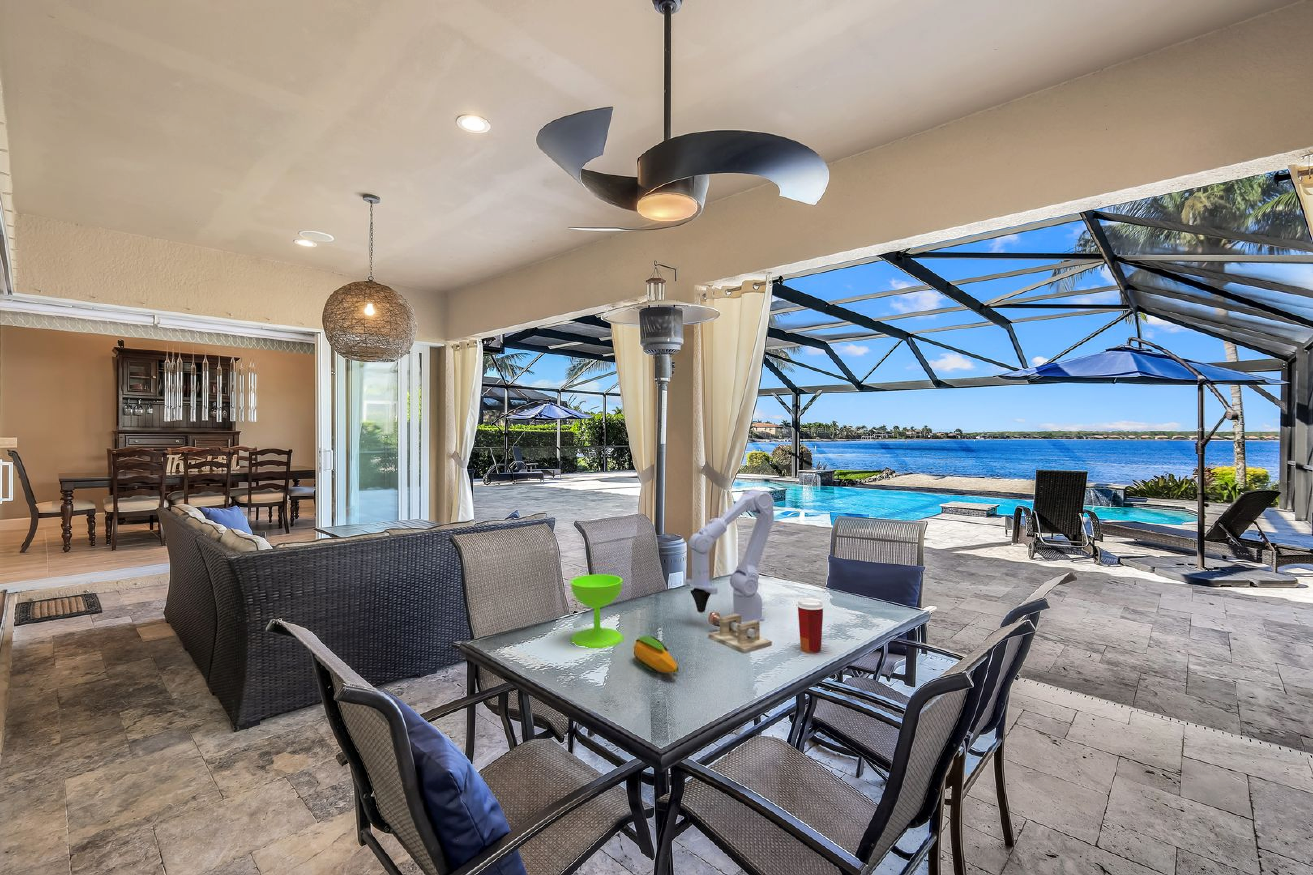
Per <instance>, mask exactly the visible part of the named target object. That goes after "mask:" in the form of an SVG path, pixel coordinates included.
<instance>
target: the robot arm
mask: <svg viewBox="0 0 1313 875" xmlns="http://www.w3.org/2000/svg"><path fill="white" fill-rule="evenodd" d="M774 506H775V500H774V498H773V497H772V494H771V493H770V492H768V491H765V490H764V491H763V490H757V489H754V488H753V489H751V488H750V489H749V490H747V491H746V492H745V493H743V494H742V495H741V496H740V497H739V499H738V500H737V501H736V502H735V503H734V504H733V505H732V506H731V507H730V508H729V509H728V510H727V511H726V512H725V513H724V514H723V515H722V516H721V517H719V518H718V517H714V518H711V519H709V520H708V522H709V523H707V524H706V525H704V527H703V528H700V529H699V530H698V532H696V533H693V534H692V535H691V536H690V538H689V541H688V547H690V549H691V579H690V578H689V579H684V582H685V583H684V585H685V587H690V588H692V589H691V590H690V594H691V596H692V599H693V600H694V602H695V603H694V604H695V606H696V611H697V613H700V614H701V613H705V612H706V608H707V604H708V601H709V598H710V597H711V595H712V596H713V595H717V594H718V590H719V589H718V587H716V586H714V585H713V584H711V583H710V551H711V549H712V547H713V544H714V543H715V542H716V541H718V539H719V538H721V536H723V535H724V534H725V533H726V532H727V529H728V525H730V524H731V523H732V522H734V521H735V520H736V519H737V518H739V517H740V516H741V515H742V514H744V513H745V512H753V514H754V517H755V518H756V521H755V524H754V527H753V530H752V533H751V535H750V538H749V541H748V543H747V546H746V550H745V553H744V555H743V558H742V562H741V563H740V564H738V565H736V568H735V570H734V572H733V573H732V574H731V576H730V578H729V584H730V586H731V587H732V589H733V591H732V594H733V595H732V598H733V599H732V600H733V602H732V605H733V608H732V609H733V612H732V613H733V614H739V615H741V624H742V623H746V622H750V621H754V620H756V621H758V622H760V621H764V620H765V618H764V617H763V600H762V596H761V594H759V592H758V590H759V578H760V574H759V571H758V567H759V565H760V561H761V558H762V555H763V553H764V550H765V547H766V544H767V541H768V538H769V535H770V532H771V529H772V526H773V524H774V521H775V514H774ZM733 614H732V615H733Z"/></svg>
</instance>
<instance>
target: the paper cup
mask: <svg viewBox="0 0 1313 875" xmlns="http://www.w3.org/2000/svg"><path fill="white" fill-rule="evenodd" d="M796 607H797V611H798V614H797V615H798V629H799V642H800V643H799V644H800V650H801V652H803V653H807V654H818V653H821V649H822V638H823V636H822V635H823V621H824V608H825V606H824V602H823V601H822V600H820V599H817V598H813V597H812V598H811V597H805V598H800V599H798V601H797V603H796Z"/></svg>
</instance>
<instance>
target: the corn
mask: <svg viewBox="0 0 1313 875" xmlns="http://www.w3.org/2000/svg"><path fill="white" fill-rule="evenodd" d="M633 655H634V657H635V658H636V660H637V661H638V662H640V664H641V665H642V666H644V667H645V668H647V669H648V670H650V671H652V672H654V673H656V674H657V673H658V672H660V673H664V674H675V673H679V671H680V668H679V667H678V665H677V662H676V661H675V660H674V658H673V657H672V656H671V654H670V652H669V650H668V648H667V647H666V646H665V645H664V643H663V642H662V641H660V640H659V639H658V638H656V637H653V636H649V635H648V636H640V637H639V638H637V639H636V640H635V643H634V645H633Z"/></svg>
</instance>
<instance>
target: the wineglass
mask: <svg viewBox="0 0 1313 875" xmlns="http://www.w3.org/2000/svg"><path fill="white" fill-rule="evenodd" d="M570 587H571V591H572V594H573V596H574V597H575V598H576V600H577V601H579V602H580V603H581V604H583V605H584V606H585V607H590V608H593V627H592V628H586V629H582V630H580V631H577V632H576V633H575V634H573V635H572V637H571V639H572V642H574V643H575V644H576V645H578V646H585V647H588V648H599V649H604V648H603V647H607V646H611V647H614V646H613V645H615V646H617V645H619V644H620V643H622V642H623V640H624V637H623V634H622V632H620V631H618V630H617V629H613V628H609V627H608V628H606V627H601V608H602V607H606V606H609V605H610V604H611V603H612V602H614V601H615V600H616V599H617V597H619V594H620V593H621V590H622V588H623V578H622V577H620V576H617V575H614V574H601V573H600V574H599V573H598V574H587V575H581V576H578V577H574V578H572V579H571V580H570ZM572 642H571V643H572ZM619 642H620V643H619ZM618 643H619V644H618ZM616 644H617V645H616ZM578 646H577V647H578ZM588 648H587V649H588ZM607 648H608V647H607Z"/></svg>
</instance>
